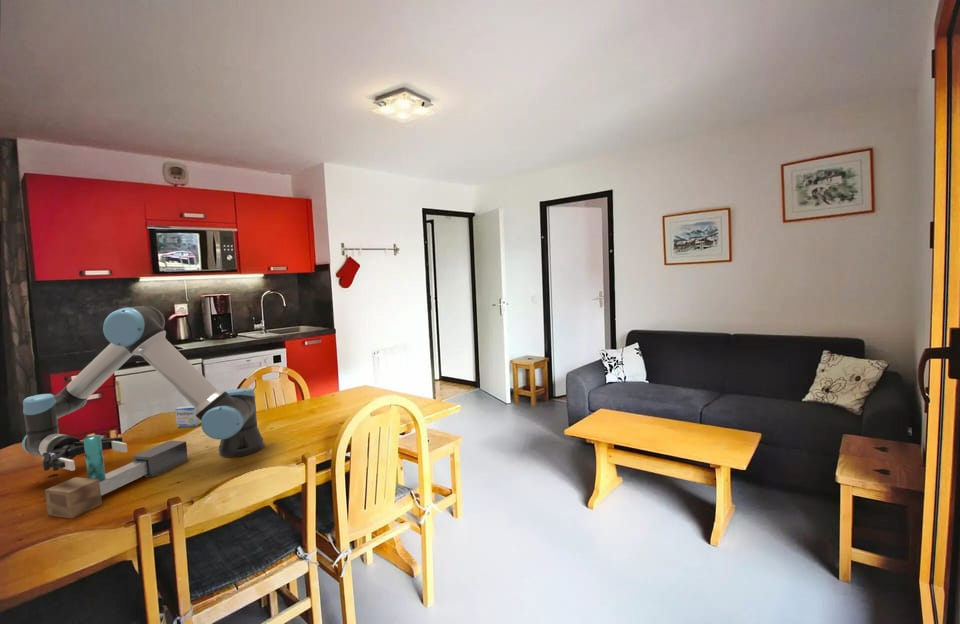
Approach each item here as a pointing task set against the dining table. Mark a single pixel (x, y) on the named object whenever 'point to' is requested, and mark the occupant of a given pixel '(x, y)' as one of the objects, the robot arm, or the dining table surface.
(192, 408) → the medicine box
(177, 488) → the dining table surface
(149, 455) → the sleeve
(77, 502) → the socket block
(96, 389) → the robot arm
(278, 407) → the dining table surface
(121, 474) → the sliding bar with handle
